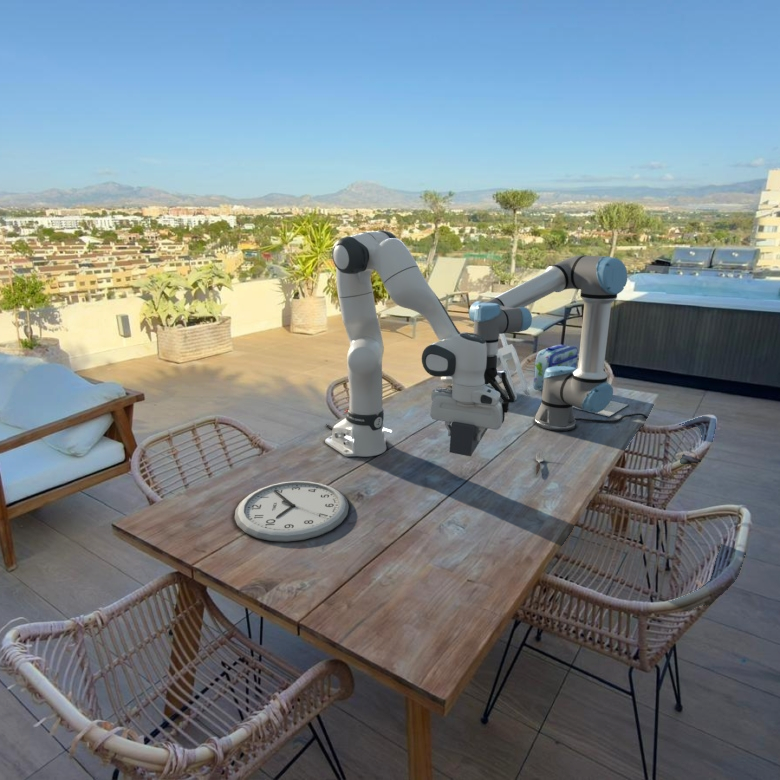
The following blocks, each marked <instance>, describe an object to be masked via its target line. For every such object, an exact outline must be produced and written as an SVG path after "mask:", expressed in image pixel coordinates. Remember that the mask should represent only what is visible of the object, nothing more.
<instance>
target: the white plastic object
mask: <svg viewBox="0 0 780 780" xmlns="http://www.w3.org/2000/svg"><path fill="white" fill-rule="evenodd" d="M499 338H500V342H501V345H502V347H500V348H498V353H497V354H496V355H497V367H496V369H498V368H499V367H500V366H502V371H504V370H505V371H506V372H507V379H508V381H509V384H510V386H511V388H512V391H513V393H514V396H515V400H517V392H516V391H517V390H516V388H515V385H514V381H513V378H512V375H511V371H510V369H509V365H508V361H510V360H513V363H514V366H515V369H516V372H517V376H518V380H519V382H520V385H521V389H522V391H523V393H524V395H525V396H526V397H528V396H531V395H530V390H529V388H528V387H529V386H528V384H527V381H526V378H525V375H524V371H523V369H522V368H523V367H522V366H521V362H520V359H519V355H518V352H517V349H516V347H515V346H514V345H513V343H511V344H508V341H507V337H506V333H503V334H499ZM440 381H442V383H443V384H444V385H445V386H449V385H452V383H453V378H452V377H451V376H448V377H440Z"/></svg>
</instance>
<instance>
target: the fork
mask: <svg viewBox="0 0 780 780" xmlns="http://www.w3.org/2000/svg"><path fill="white" fill-rule="evenodd" d="M545 453H546V451H544V452H543V453H541V452H539V451H537V452H536V457H535V461H536V462H537V464H536V466H535V475H536V476H537V475H538V473H539V471H540V469H541V463H542V462H544V461H545Z"/></svg>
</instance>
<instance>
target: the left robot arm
mask: <svg viewBox="0 0 780 780" xmlns="http://www.w3.org/2000/svg"><path fill="white" fill-rule="evenodd" d="M331 252H332V253H331V255H332V256H331V258H332V261H333V264H334V266H335V267H336V270H335V281H336V291H337V298H338V302H339V308H340V313H341V319H342V323H343V325H344V329H345V332H346V335H347V339H348V342H349V349H348V351H347V353H346V366H347V367H346V368H347V378H348V388H349V389H348V390H349V394H348V397H349V400H348V402H349V403H348V404H349V407H348V408H346V409H343V411H344V412H343V414H346V416H345V417H344V418H343V419H342V420H340V421H338V422H337V423H336V424H334V426H331V425H329V424H328V423H326V424H325V426H326V425H327V424H328V425H327V426H326V427H327V428H328V429H330V430H331V435H330V436H328V437H326V439H325V440H324V442H325V444H326V445H328V446H329V447H331V448H332V449H334V450H335V451H337V452H338V453H340V454H341V455H342V456H344V457H349V458H351V457H363V458H364V457H365V458H366V457H375V456H379V455H381V454H383V453H385V452H386V451H387V444H386V443H387V438H386V437H385V432H389V433H392V432H393V430H392V429H389V428H386V427H384V417H385V414H384V413H385V412H384V408H383V391H384V390H383V388H384V387H383V357H384V353H385V347H384V346H385V345H384V341H383V336H382V331H381V327H380V322H379V318H378V314H377V308H376V302H375V296H374V290H373V284H372V280H371V279H372V278H371V276H372V274H373V272H374V271H376V273H377V274H378V275H379V278H380V280H381V282H382V284H383V287H384V289H385V291H386V292H387V294H388V296H389V297H390V299H391V300H392V301H393V303H394V304H396V305H397V306H399V307H401V308H404V309H407V310H411V311H414V312H415V313H418V314H419V315H421V316H423V317H424V318H425V320H426V321H427V322H428V324H429V326H430V328H431V329H432V331H433V333H434V334H435V336H436V338H437V339H438V341H436V342H433V343H431V344H429V345H427V346H426V347H425V348H424V349H423V350H422V354H421V364H422V367H423V369H424V371H425V372H427V374H428V375H430V376H432V377H438V378H439V377H440V378H441V377H448V376H451V377H452V378H453V383H452V384H451V388H442V387H437V388H434V389H433V390H432V391H431V397H430V398H431V401H432V402H431V407H430V412H429V415H430V418H432V420H433V421H441V422H444V426H445V428H446V430H447V436H448V437H451V424H452V422H459V423H465V424H471V425H475V426H477V427H479V430H481V431H480V432H479V433H476V434H475V436H474V440H475V441H480V442H481V440H480V437H481V434H482V433H483V431H484V430H485V428H488V429H489V430H495V431H496V430H499V429H500V428H501V427H502V425H503V423H502V420H503V411H502V402H500V399H501V397H500V392H498V391H496V390H495V389H494V388H492V387H490V386H487V385H486V384H485V379H484V372H485V370H486V363H487V346H486V342H485V340H484V339H483V338H482V337H481V336H479V335H477V334H474V332H460V330H459V329H458V327H457V326H456V325H455V323H454V321H453V319H452V317H451V316H450V315H449V313H448V311H447V309H446V308H445V306H444V305H443V303H442V302H441V300H440V298H439V297H438V296H437V295H436V293H435V292H434V290H433V289H432V288H431V286H430V285H429V283H428V282H427V280H426V278H425V277H424V275H423V273H422V271H421V269H420V267H419V265H418V263H417V261H416V260H415V258H414V256H413V254H412V253H411V252H410V250H409V248H408V247H407V245H405V243H404V242H403V241H402V240H401V239H399V238H397V236H396V235H395V234H394V233H393V232H391V231H388V230H381V229H379V230H376V231H375V230H373V231H372V230H371V231H363V232H361V233H357V234H353V235H350V236H349V235H348V236H344V237H342V238H340V239H338V240H336V241H335V243H334V244H333V246H332V251H331Z"/></svg>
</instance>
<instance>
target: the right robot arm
mask: <svg viewBox="0 0 780 780" xmlns="http://www.w3.org/2000/svg"><path fill="white" fill-rule="evenodd" d="M627 283H628V269H627V267H626V264H624V262H623V261H622V260H621V259H619V258H618V257H612V256H607V255H605V256H603V255H587V254H586V255H585V254H580V255H574V256H571V257H568V258H565V259H563V260H561V261H558V262H556V263H554V264H552V265H550V266H548V267H547V268H546V269H545V271H544V272H542V273H541V274H539V275H537V276H534V277H532V278H531V279H529V280H526V281H525V282H523V283H521V284H519V285H517V286H514V287H513V288H511V289H508V290H507V291H505V292H503V293H501V294H499V295H497V296H495V297H493V298H491V299H489V300H487V301H483V300H479V301H478V300H477V301H475V302H473V303H472V304H471V305H470V307H469V310H468V316H469V319H470V321H471V322H473V333H474V334H477V335H479V336H481V337H482V338H483V339H484V340H485V342H486V346H487V363H486V370H485V372H484V379H485V385H490V386H491V388H492V389H494V390H496V391H498V392H500V399H501V400H502V402H501V405H502V411H503V420H502V424H504V421H505V415H506V414H508V412H509V406H510V403H514V402H515V400H516V399H515V396H514V393H513V391H512V388H511V386H510V384H509V381H508V379H507V372H506V371H505V370H502V371H499V370H497V369H498V367H497V355H496V354H497V353H498V349H499V338H500V335H499V334H503V333H504V334H509V333H510V334H513V333H520V332H524V331H527V330H529V329H530V328H531V326H532V321H533V315H532V313H531V311H530V310H529V308H527V306H530V305H531V304H533V303H535V302H537V301H539V300H541V299H543V298H545V297H547V296H549V295H551V294H553V293H561V292H563V291H566V290H580V299H581V300H582V301H583V302H584V303H583V314H582V322H581V333H580V334H581V335H580V343H579V344H580V345H579V352H578V353H579V354H578V361H577V367H576V368H575V367H569V366H555V367H549V368H547V369H546V370H545V374H544V379H543V390H542V391H541V402H540V405H539V407H538V410H537V411H536V413H535V416H534V424H535V425H536V426H537V427H539V428H542V429H544V430H549V431H556V432H567V431H572V430H574V429H575V428H576V421H581V422H582V421H584V422H596V423H618V422H620V421H622V420H623V419H625V418H628V417H629V418H630V417H635V416H640V417H644V418H645V419H648V418H649V417H648V415H646V414H645V413H640V412H639V413H638V412H636V413H629V414H625V415H622V416H620V417H619V418H618V419H594V418H582V417H581V418H580V417H576V416H575V413H574V407H577V408H580V409H582V410H581V411H584V412H587V413H593V414H596V413H597V412H600V411H602V410H603V409H605V408H606V406H607V405H608V404H609V403H610V401H612V399H613V396H614V389H613V385H611V384H610V383H609V382H608V373H607V372H606V371H605V370H604V369H605V360H606V352H607V344H608V336H609V327H610V318H611V311H612V310H611V309H612V303H613V302H614V301H615V300H617V299H618V294H620V293H622V292H623V291H624V289H625V287H626V285H627ZM496 367H497V368H496ZM497 376H498V377H499V379H500V380H501V383H502V385H503V387H504V389H505V391H506V392H505V391H504V390H503V387H502V386H501V385H500V384H499V383H498V380H497V379H496V377H497ZM580 409H579V410H580Z"/></svg>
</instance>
